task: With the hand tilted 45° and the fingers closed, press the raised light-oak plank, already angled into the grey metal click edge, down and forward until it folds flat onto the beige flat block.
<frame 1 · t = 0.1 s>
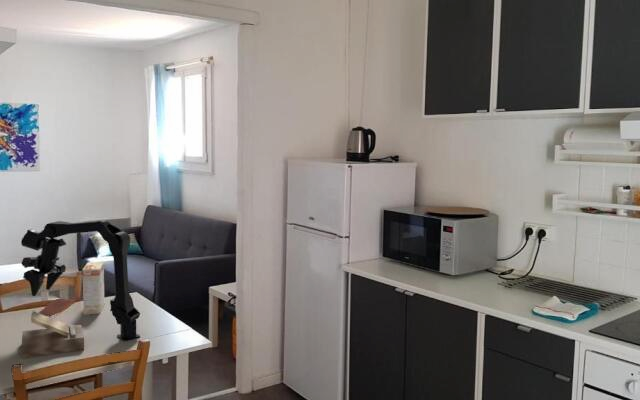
hand: (40, 292, 216), 15 cm above the table, tool pointing down, fingers open, 9 cm apart
oak plank: (50, 323, 201), point 9 cm above the table, hinge at 30.0°
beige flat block: (53, 346, 203), on the table
wooden tablet: (55, 309, 248), on the table
coffeecake box: (94, 309, 248), on the table
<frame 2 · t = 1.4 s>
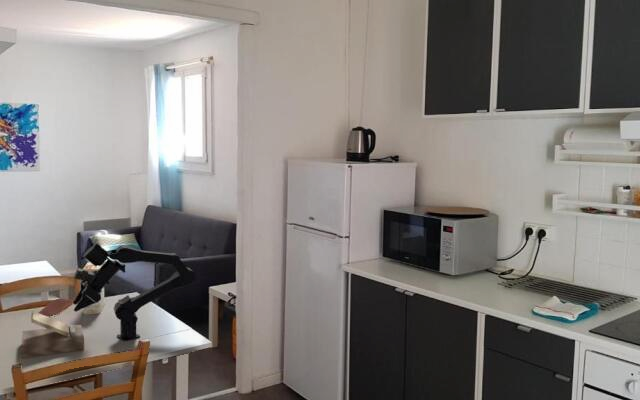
hand: (74, 307, 205), 13 cm above the table, tool tilted 45°, fingers open, 9 cm apart
nothing on the table moved.
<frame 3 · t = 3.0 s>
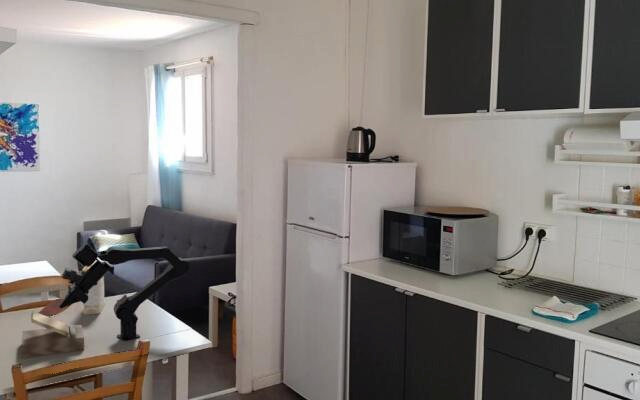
hand: (60, 307, 202), 14 cm above the table, tool tilted 45°, fingers closed
nothing on the table moved.
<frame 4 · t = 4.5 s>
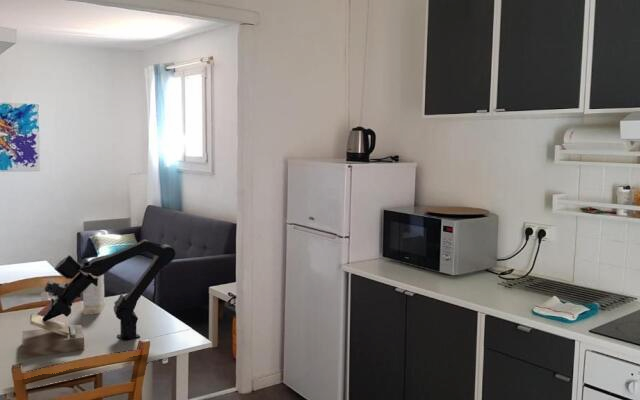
hand: (43, 320, 200), 10 cm above the table, tool tilted 45°, fingers closed, pressing on oak plank
oak plank: (49, 324, 201), point 8 cm above the table, hinge at 26.7°, touching gripper
everything else where it was.
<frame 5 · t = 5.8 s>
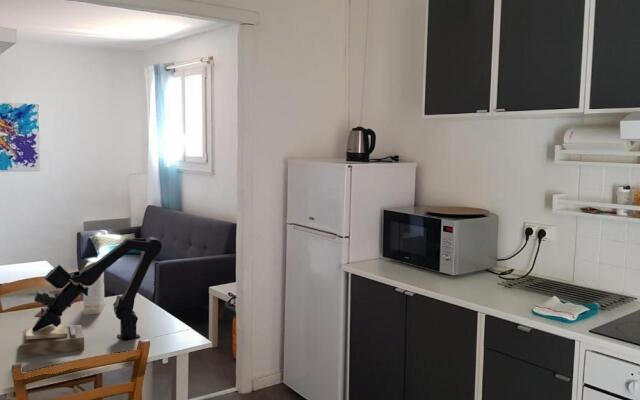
hand: (33, 330, 199), 7 cm above the table, tool tilted 45°, fingers closed, pressing on oak plank
oak plank: (46, 332, 201), point 6 cm above the table, hinge at 3.4°, touching gripper
everything else where it was.
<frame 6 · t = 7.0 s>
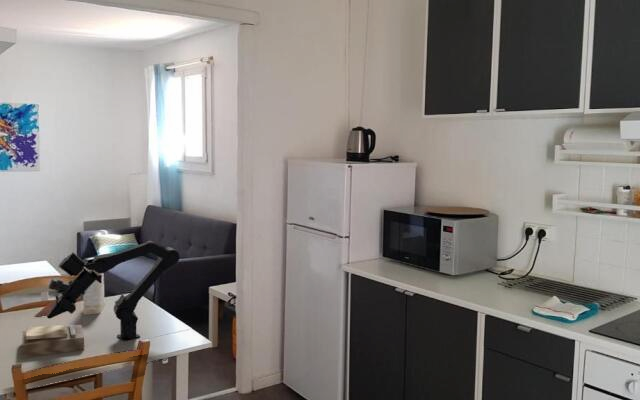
hand: (48, 317, 201), 11 cm above the table, tool tilted 45°, fingers closed
oak plank: (46, 332, 201), point 6 cm above the table, hinge at 3.2°
everything else where it was.
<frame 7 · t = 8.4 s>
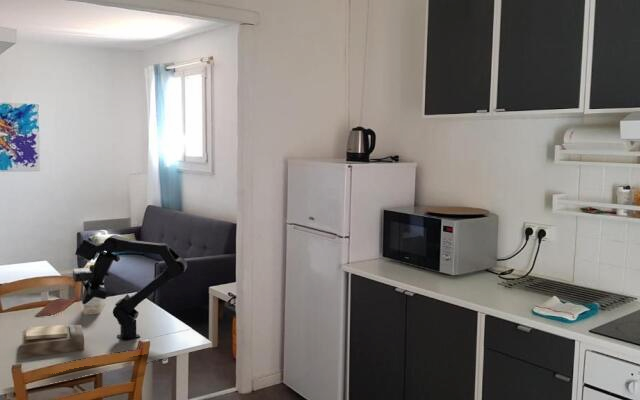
hand: (83, 303, 211), 13 cm above the table, tool tilted 25°, fingers closed
nothing on the table moved.
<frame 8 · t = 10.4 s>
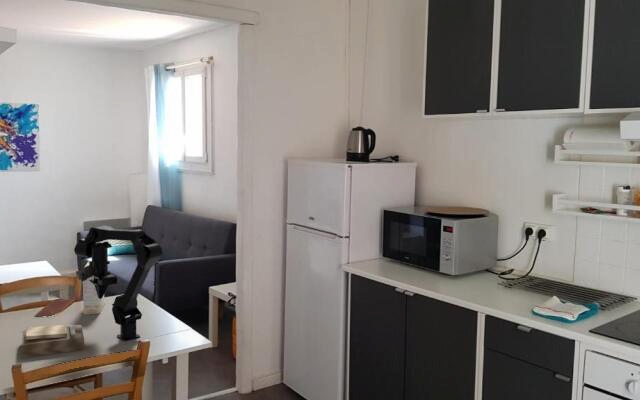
hand: (100, 298, 219), 13 cm above the table, tool pointing down, fingers closed
nothing on the table moved.
at the end: oak plank at +3° (first picture: +30°) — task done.
